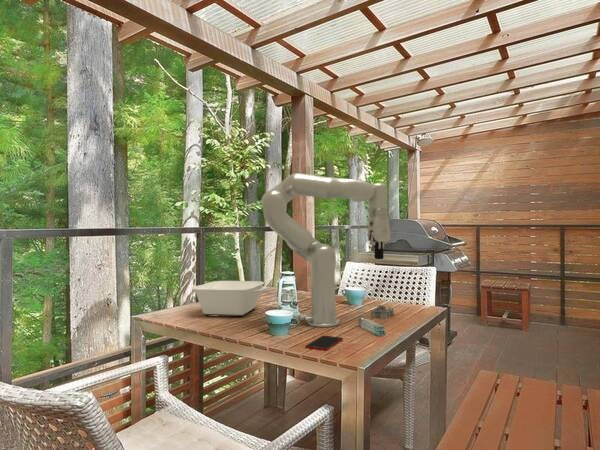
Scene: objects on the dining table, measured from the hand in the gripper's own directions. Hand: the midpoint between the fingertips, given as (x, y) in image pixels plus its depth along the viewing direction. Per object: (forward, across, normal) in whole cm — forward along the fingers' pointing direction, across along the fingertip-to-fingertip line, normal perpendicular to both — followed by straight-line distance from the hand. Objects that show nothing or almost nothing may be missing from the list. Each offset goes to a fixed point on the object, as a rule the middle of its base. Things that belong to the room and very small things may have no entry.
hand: (379, 258), depth 171 cm
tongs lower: (+25, -17, -7) cm, 31 cm away
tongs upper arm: (+23, -18, -8) cm, 30 cm away
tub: (+25, -30, +60) cm, 72 cm away
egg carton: (+25, +7, +3) cm, 27 cm away
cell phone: (+25, -40, -4) cm, 48 cm away
